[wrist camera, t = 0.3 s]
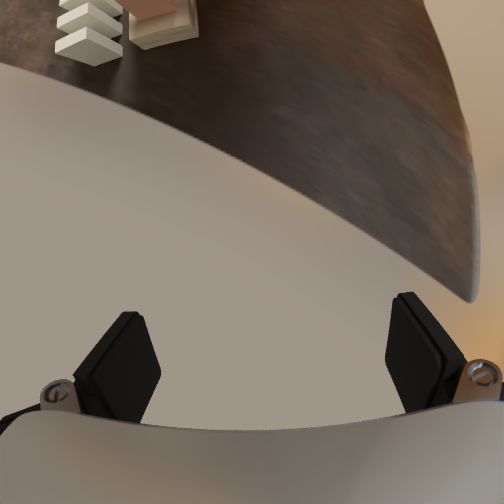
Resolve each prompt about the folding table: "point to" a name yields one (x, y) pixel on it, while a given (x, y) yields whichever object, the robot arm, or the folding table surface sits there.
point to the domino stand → (165, 26)
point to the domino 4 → (148, 7)
